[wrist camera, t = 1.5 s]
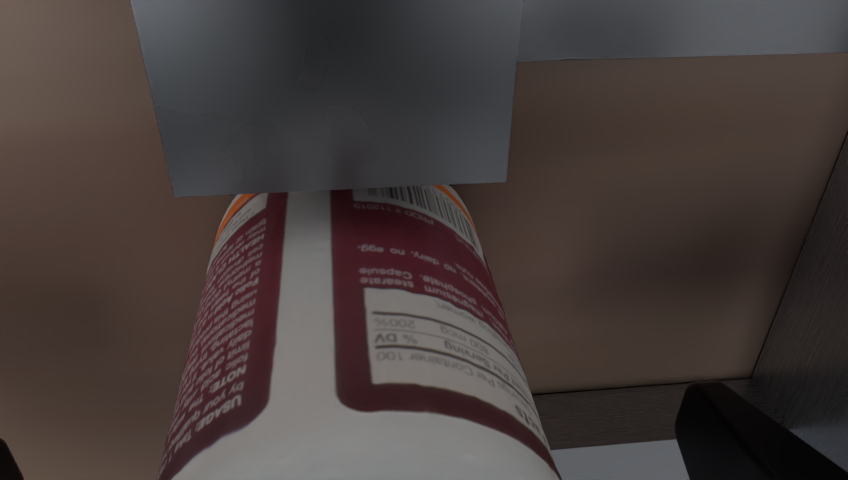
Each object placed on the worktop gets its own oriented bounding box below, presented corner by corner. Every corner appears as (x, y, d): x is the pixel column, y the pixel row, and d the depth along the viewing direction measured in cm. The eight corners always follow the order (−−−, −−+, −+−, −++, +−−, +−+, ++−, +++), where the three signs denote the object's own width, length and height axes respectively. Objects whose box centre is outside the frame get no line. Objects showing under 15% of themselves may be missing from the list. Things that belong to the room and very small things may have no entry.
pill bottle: (275, 374, 14) (219, 959, 7) (169, 180, 11) (-92, 823, 4) (499, 314, 14) (670, 858, 7) (446, 101, 11) (641, 643, 4)
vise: (1323, -120, 11) (1774, -75, 7) (964, 415, 17) (1112, 563, 14) (173, -120, 9) (78, -60, 6) (276, 475, 16) (262, 660, 12)
